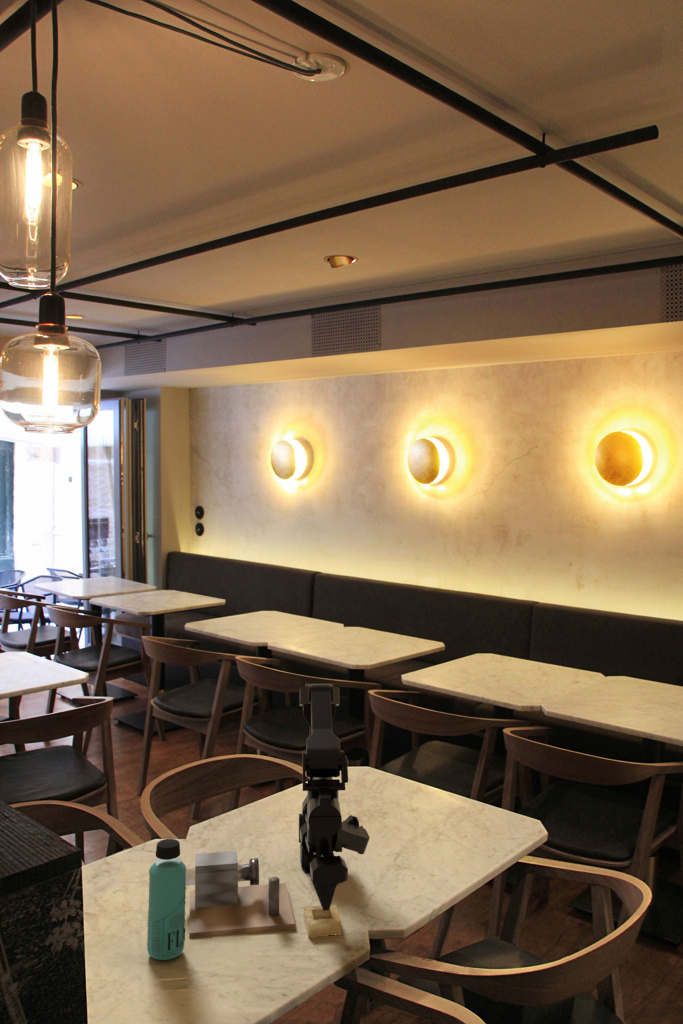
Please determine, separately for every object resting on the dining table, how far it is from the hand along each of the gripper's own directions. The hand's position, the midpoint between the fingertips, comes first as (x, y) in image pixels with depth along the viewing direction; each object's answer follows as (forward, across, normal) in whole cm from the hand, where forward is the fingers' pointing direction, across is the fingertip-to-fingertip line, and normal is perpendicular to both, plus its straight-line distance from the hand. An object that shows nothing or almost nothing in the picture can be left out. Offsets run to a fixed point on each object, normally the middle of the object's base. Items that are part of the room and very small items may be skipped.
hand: (322, 896), depth 146 cm
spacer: (+6, 0, 0) cm, 6 cm away
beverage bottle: (+6, -5, +28) cm, 29 cm away
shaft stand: (+6, +7, +14) cm, 17 cm away
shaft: (+2, +11, +18) cm, 21 cm away
